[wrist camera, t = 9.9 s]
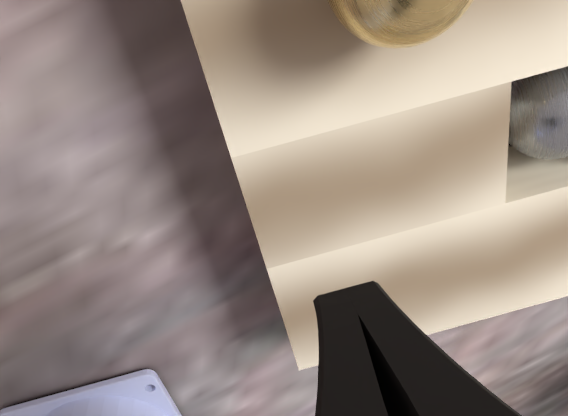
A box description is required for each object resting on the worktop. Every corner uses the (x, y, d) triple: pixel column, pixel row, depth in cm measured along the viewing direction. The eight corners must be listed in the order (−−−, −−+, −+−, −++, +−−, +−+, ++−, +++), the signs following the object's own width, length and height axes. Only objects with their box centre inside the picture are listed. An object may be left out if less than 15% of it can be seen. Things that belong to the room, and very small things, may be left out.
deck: (604, 223, 23) (664, 269, 20) (286, 311, 22) (299, 370, 20) (697, -247, 13) (837, -293, 10) (158, -103, 13) (145, -108, 10)
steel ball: (621, 169, 16) (510, 186, 17) (585, 117, 19) (492, 135, 20) (635, 76, 14) (508, 102, 15) (593, 33, 17) (487, 57, 18)
